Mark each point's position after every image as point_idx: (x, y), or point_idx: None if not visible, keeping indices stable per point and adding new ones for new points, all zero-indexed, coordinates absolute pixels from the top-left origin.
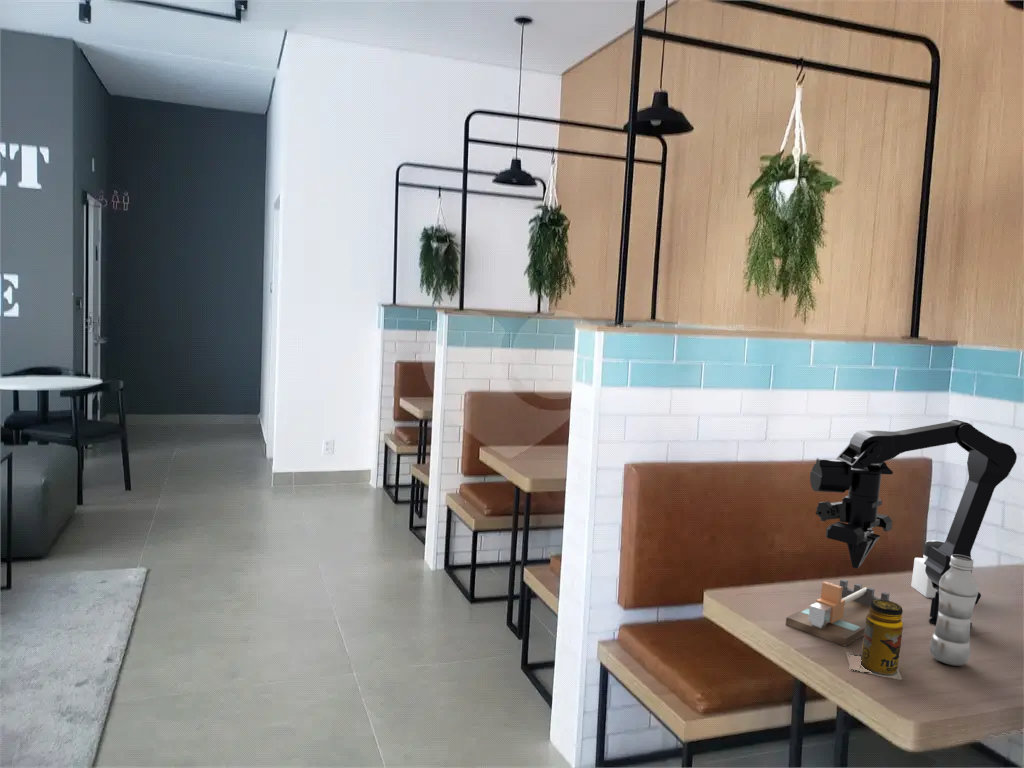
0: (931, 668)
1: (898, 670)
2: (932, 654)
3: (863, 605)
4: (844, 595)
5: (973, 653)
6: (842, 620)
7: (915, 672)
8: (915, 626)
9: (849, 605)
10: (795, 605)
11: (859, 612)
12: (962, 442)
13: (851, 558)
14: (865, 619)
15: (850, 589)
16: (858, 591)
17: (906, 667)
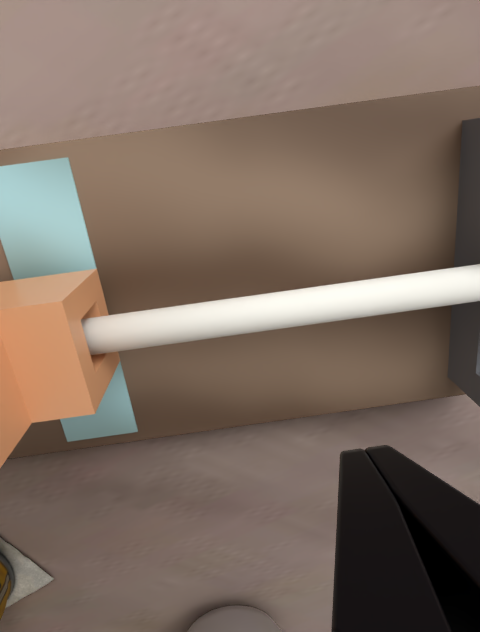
0: (134, 628)
1: (6, 606)
2: (192, 626)
3: None
4: (466, 160)
5: None
6: (125, 350)
7: (56, 625)
8: (445, 458)
9: (359, 251)
10: (154, 8)
11: (311, 330)
12: None
13: (339, 541)
14: (250, 391)
15: None
16: (435, 295)
17: (59, 602)
